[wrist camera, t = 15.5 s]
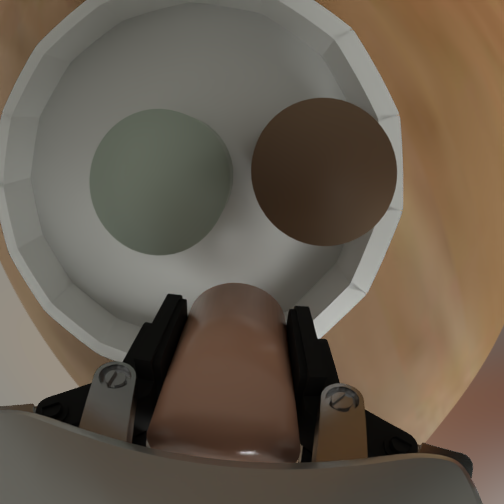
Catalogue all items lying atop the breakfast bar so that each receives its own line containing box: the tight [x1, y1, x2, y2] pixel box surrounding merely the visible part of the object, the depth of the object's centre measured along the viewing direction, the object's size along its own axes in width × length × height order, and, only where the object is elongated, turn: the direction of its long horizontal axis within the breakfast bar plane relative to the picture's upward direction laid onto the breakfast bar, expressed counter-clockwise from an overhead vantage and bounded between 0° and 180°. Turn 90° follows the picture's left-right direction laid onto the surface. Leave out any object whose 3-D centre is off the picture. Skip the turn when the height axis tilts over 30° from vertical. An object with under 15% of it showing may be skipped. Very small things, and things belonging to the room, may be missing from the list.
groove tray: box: [0, 0, 403, 362], centre depth 13 cm, size 20×20×4 cm
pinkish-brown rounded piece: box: [147, 283, 301, 463], centre depth 9 cm, size 4×4×6 cm
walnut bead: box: [251, 98, 397, 246], centre depth 10 cm, size 4×4×6 cm
